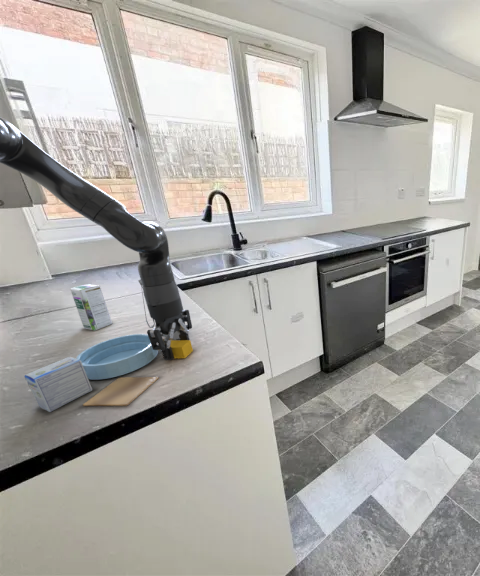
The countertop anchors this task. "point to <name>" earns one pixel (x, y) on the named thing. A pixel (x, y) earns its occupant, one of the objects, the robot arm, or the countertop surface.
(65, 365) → the medicine box
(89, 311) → the syrup box
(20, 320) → the countertop surface
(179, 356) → the sponge
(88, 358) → the basin
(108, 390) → the mat
